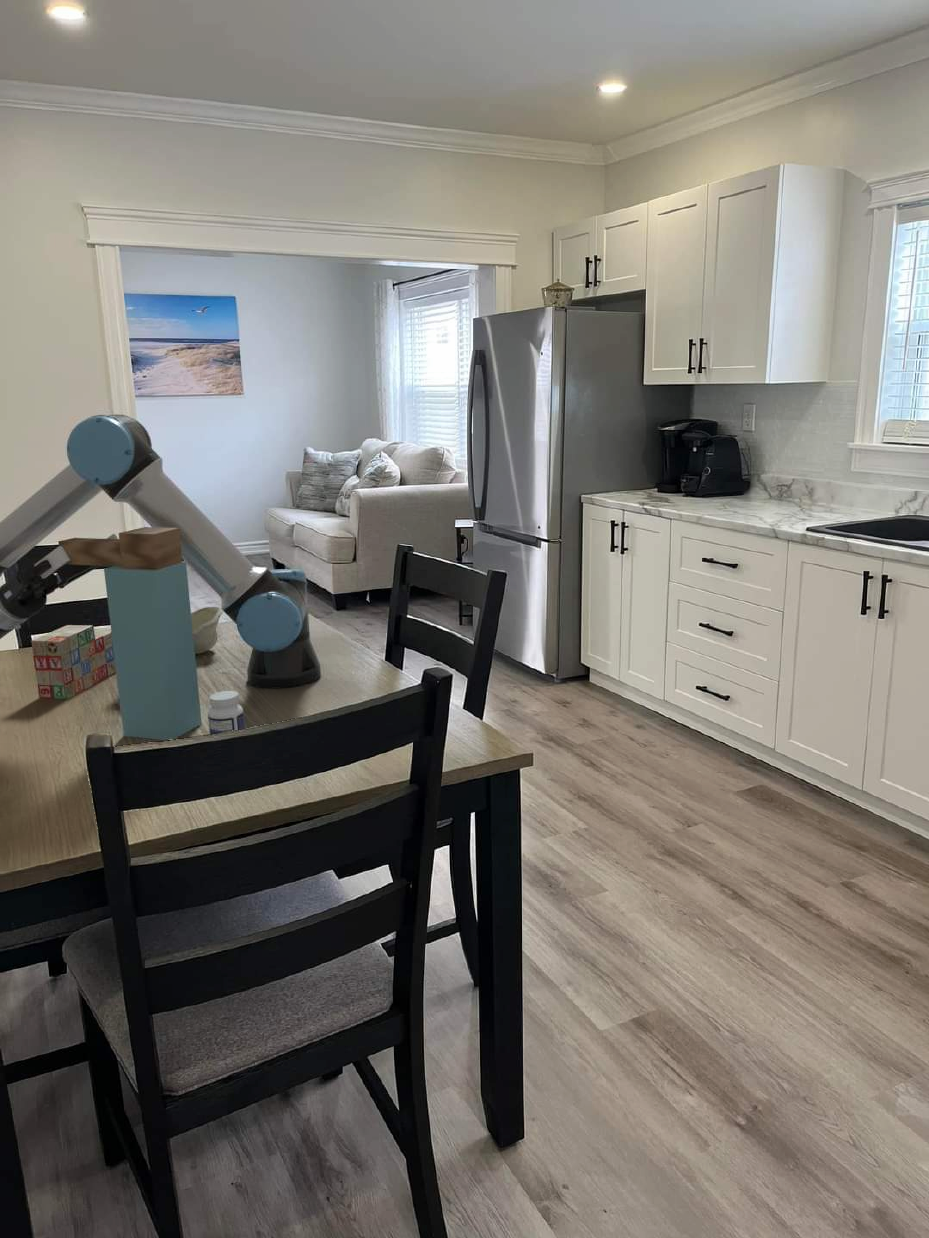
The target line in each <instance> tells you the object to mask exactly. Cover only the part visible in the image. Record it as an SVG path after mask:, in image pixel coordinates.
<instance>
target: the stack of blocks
mask: <svg viewBox="0 0 929 1238" xmlns="http://www.w3.org/2000/svg"><path fill="white" fill-rule="evenodd" d="M30 642H31V648H32V654H33V655H32V657H33V664H34V670H35V676H36V682H37V691H38V697H39V699H48V700H49V699H52V700H53V699H55V700H68V699H70V698H72V697H74V696H75V695H78V694H79V693H82V692H83V691H85V690H87V689H90V688H91V687H93V686H94V685H96V684H97V683H99V682H101V681H103V680H104V679H106V678H108V677H110V676H113V674H116V666H115V658H114V650H113V641H112V633H111V627H110V628H108V627H106V628H102V627H101V628H97V627H95V628H94V625H85V624H84V625H76V624H75V625H74V624H73V625H72V624H67V625H64V626H62V627H60V628H57V629H55V630H53V631H51V632H49V633H46V634H44V635H42V636H38V637H36V638H34V639H32V640H31V641H30Z"/></svg>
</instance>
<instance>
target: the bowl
mask: <svg viewBox="0 0 929 1238" xmlns="http://www.w3.org/2000/svg"><path fill="white" fill-rule="evenodd" d="M223 612H224V611H223V610H222V609H221V607H218V606H207V607H203V608H200V609H198V610H195V611H193V612H191V619H192V629H193V639H194V650H195V655H202V654H203V653H205V652H208V651H209V650H211V649H212V648H214V646H215V645H216V644H217V642H218V633H217V627H218V623H219V622H220V621H219V620H220V618H221V616H222V615H223Z"/></svg>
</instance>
